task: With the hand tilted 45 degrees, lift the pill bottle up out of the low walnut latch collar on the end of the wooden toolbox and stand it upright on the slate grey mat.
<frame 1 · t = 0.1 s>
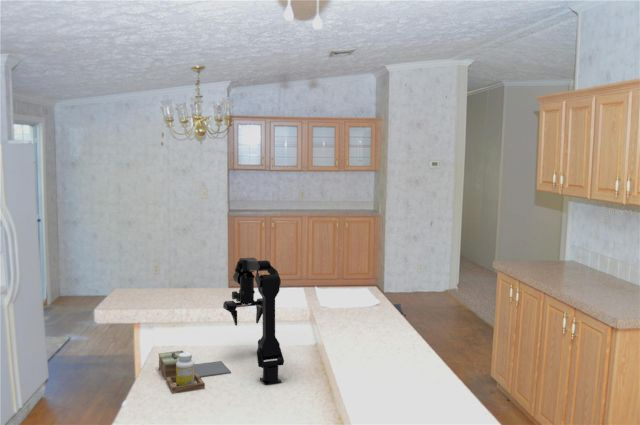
hand: (246, 324, 228), 15 cm above the counter, tool pointing down, fingers open, 9 cm apart
slate mat: (208, 369, 214), on the counter
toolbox: (185, 385, 197), on the counter
pill bottle: (185, 386, 197), resting in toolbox
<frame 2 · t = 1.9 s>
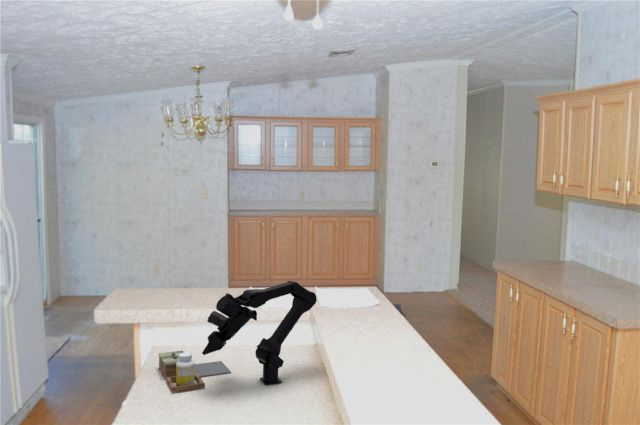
hand: (207, 349, 196), 13 cm above the counter, tool tilted 45°, fingers open, 9 cm apart
nothing on the counter moved.
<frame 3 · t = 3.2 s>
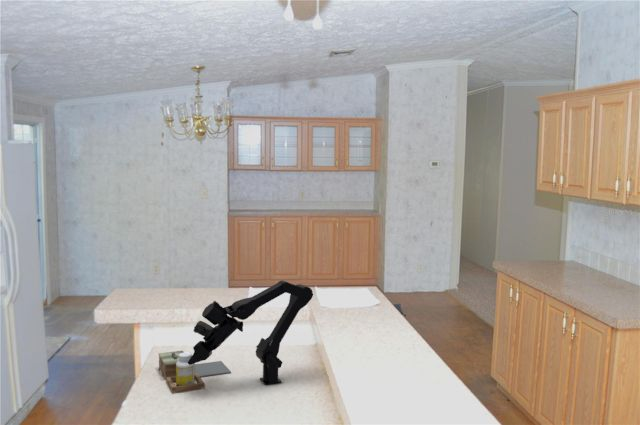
hand: (192, 359, 196), 10 cm above the counter, tool tilted 45°, fingers open, 9 cm apart
nothing on the counter moved.
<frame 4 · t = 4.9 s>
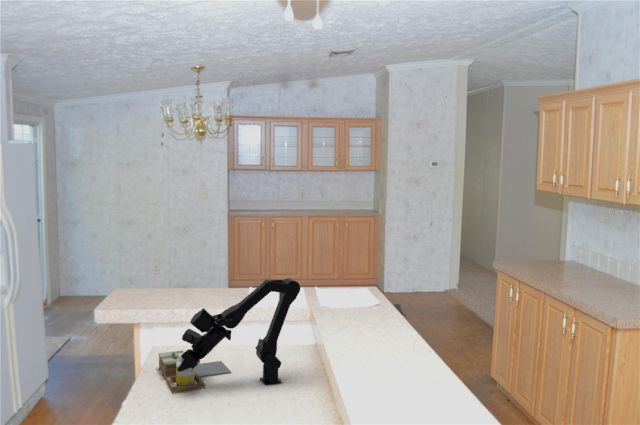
hand: (181, 367, 197), 7 cm above the counter, tool tilted 45°, fingers closed on pill bottle, 6 cm apart
pill bottle: (185, 386, 197), resting in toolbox, touching gripper
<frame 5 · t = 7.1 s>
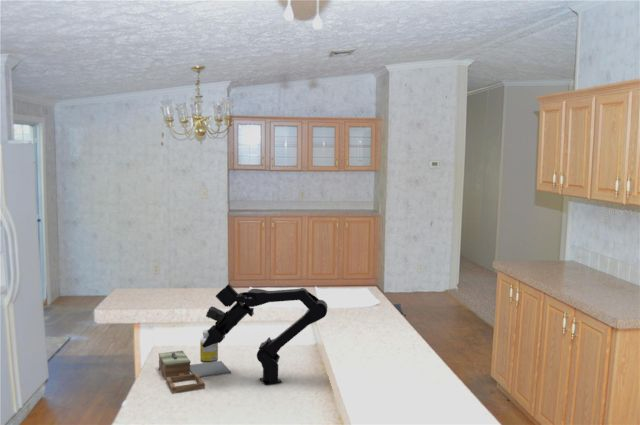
hand: (205, 343, 204), 13 cm above the counter, tool tilted 45°, fingers closed on pill bottle, 6 cm apart
pill bottle: (209, 362, 204), point 6 cm above the counter, touching gripper
when the fingers open (8 cm above the counter, at t = 9.3 s): pill bottle stays where it is, resting on slate mat.
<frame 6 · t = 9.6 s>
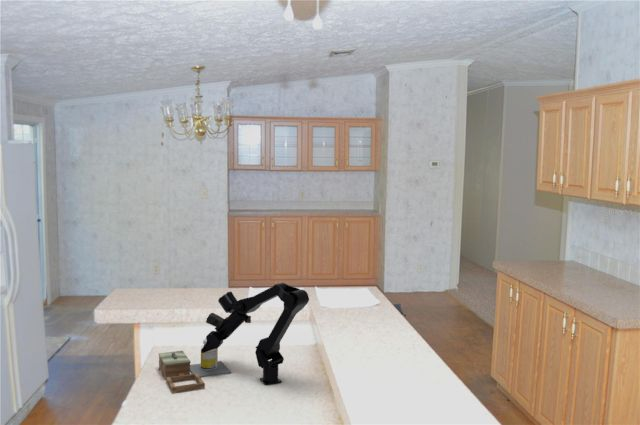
hand: (205, 348, 214), 9 cm above the counter, tool tilted 45°, fingers open, 9 cm apart
pill bottle: (209, 369, 214), resting on slate mat
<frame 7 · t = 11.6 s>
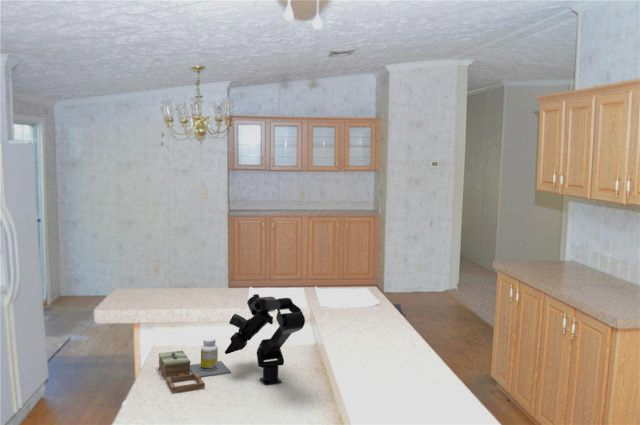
hand: (228, 349, 213), 9 cm above the counter, tool tilted 45°, fingers open, 9 cm apart
nothing on the counter moved.
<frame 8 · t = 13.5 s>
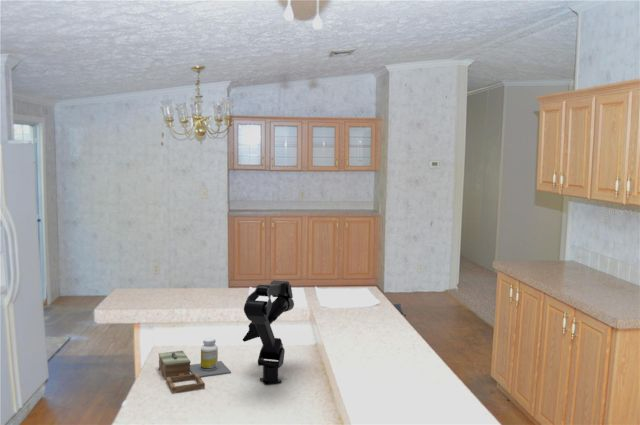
hand: (246, 337, 213), 14 cm above the counter, tool tilted 45°, fingers open, 9 cm apart
nothing on the counter moved.
at the end: pill bottle inside the target area on the slate mat (0.2 cm from its centre), point 0.4 cm above the slate mat's base; pill bottle tilted 0°; the gripper is holding nothing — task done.
